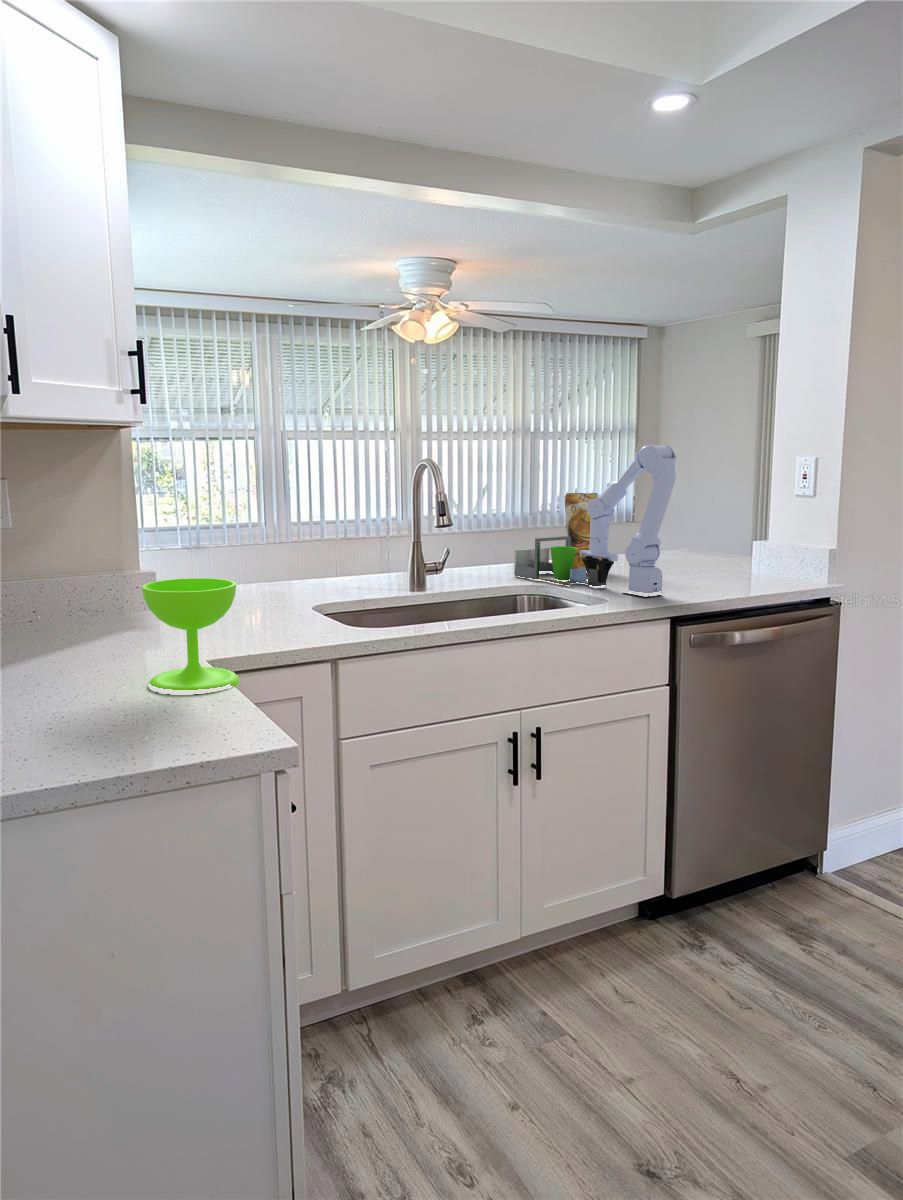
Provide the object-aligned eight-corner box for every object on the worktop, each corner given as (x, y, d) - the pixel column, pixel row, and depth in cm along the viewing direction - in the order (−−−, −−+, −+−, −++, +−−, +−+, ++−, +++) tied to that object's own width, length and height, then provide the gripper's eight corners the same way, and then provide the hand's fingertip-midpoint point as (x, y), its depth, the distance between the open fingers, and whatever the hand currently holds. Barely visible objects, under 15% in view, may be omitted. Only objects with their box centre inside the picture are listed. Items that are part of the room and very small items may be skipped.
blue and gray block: (608, 587, 263) (609, 568, 262) (594, 589, 259) (595, 570, 258) (583, 583, 272) (583, 564, 271) (569, 584, 268) (570, 566, 267)
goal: (569, 577, 283) (570, 536, 281) (536, 581, 275) (537, 538, 272) (546, 573, 292) (548, 533, 290) (514, 576, 284) (515, 535, 281)
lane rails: (599, 583, 271) (599, 579, 271) (567, 587, 263) (567, 583, 263) (567, 577, 283) (567, 574, 283) (536, 580, 275) (536, 577, 275)
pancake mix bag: (555, 573, 292) (558, 492, 287) (595, 570, 302) (599, 491, 297) (568, 576, 286) (571, 493, 281) (609, 572, 297) (612, 492, 292)
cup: (577, 583, 271) (579, 549, 269) (549, 583, 271) (550, 549, 269) (574, 579, 280) (575, 546, 278) (547, 578, 280) (548, 546, 278)
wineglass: (129, 684, 150) (123, 585, 147) (204, 667, 162) (200, 575, 159) (182, 701, 140) (177, 595, 137) (258, 681, 153) (255, 584, 150)
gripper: (573, 536, 263) (571, 579, 266) (607, 541, 252) (605, 585, 254) (589, 535, 267) (587, 577, 270) (623, 539, 256) (621, 583, 258)
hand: (597, 581), depth 262 cm, fingers closed on blue and gray block, 4 cm apart
